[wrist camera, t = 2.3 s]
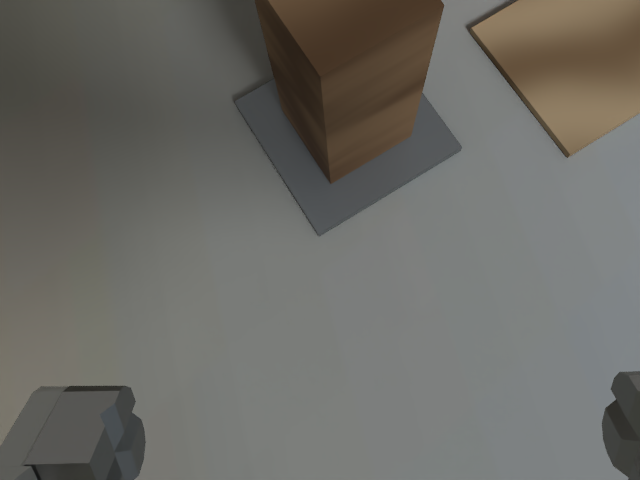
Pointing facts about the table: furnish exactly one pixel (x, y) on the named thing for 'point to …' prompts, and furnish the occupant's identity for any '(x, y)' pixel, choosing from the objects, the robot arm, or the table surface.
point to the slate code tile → (359, 185)
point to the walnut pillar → (349, 72)
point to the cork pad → (569, 63)
